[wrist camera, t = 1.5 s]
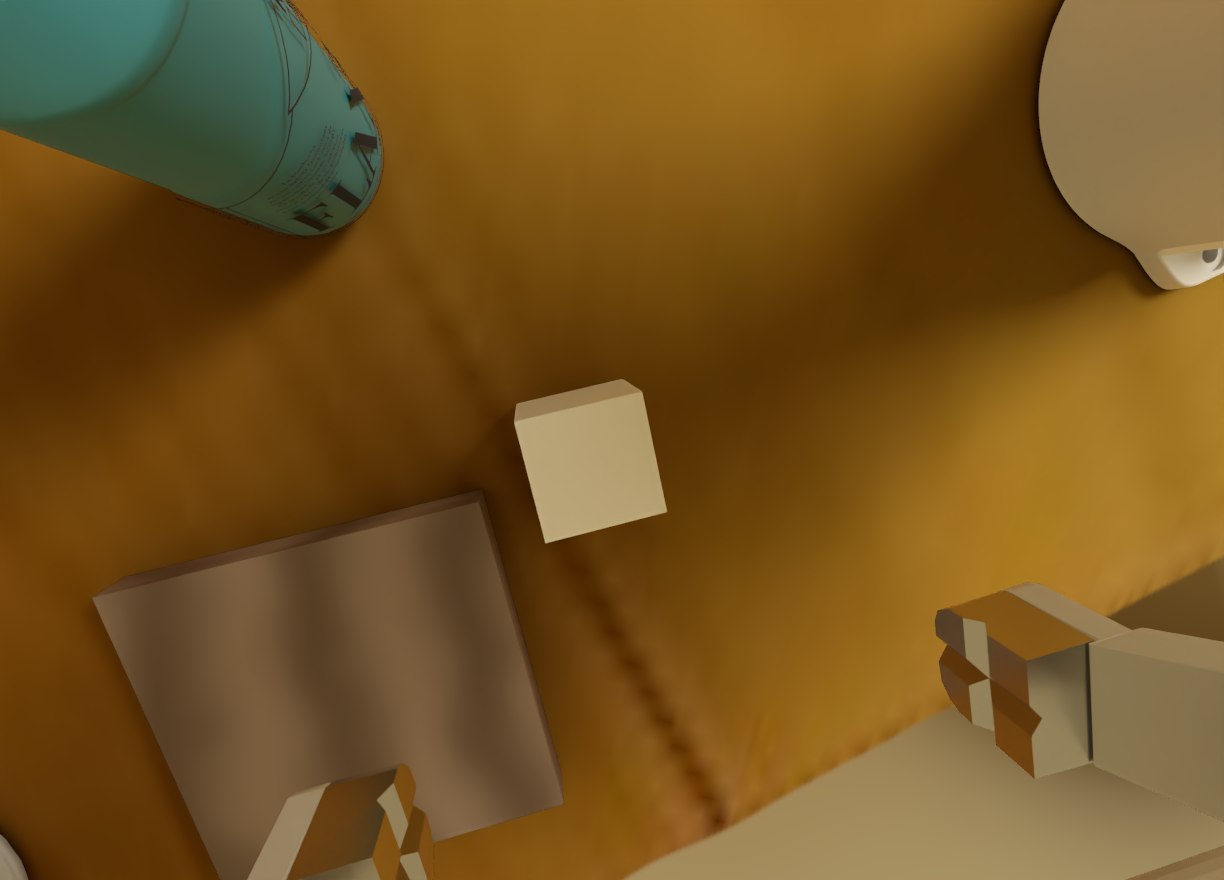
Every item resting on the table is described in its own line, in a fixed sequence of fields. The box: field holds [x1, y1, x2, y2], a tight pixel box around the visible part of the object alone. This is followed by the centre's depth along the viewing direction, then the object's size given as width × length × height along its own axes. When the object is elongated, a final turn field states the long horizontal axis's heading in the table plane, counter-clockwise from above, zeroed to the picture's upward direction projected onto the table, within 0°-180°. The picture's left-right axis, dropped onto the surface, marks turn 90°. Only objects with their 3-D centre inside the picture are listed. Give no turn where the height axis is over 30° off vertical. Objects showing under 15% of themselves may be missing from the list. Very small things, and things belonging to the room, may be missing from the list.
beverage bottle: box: [0, 0, 384, 239], centre depth 15 cm, size 6×7×20 cm
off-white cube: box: [514, 379, 667, 543], centre depth 26 cm, size 5×5×5 cm
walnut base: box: [92, 489, 564, 880], centre depth 28 cm, size 16×16×2 cm
